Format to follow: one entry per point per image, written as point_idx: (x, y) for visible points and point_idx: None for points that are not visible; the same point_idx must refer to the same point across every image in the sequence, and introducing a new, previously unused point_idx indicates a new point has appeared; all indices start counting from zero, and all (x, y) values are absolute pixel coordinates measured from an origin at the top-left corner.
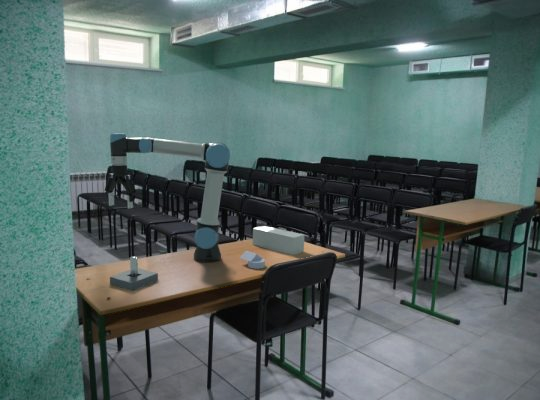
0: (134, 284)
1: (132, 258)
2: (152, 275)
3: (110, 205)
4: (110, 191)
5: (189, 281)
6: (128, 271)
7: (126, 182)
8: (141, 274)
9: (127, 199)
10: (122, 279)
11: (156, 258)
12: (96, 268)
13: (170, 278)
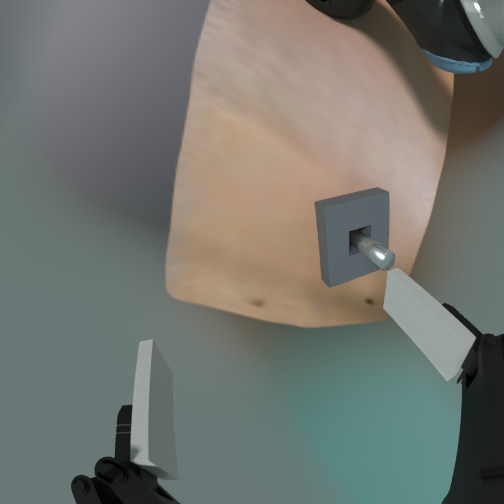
0: None
1: (390, 267)
2: (388, 209)
3: (170, 370)
4: (149, 485)
5: (419, 145)
6: (333, 239)
7: (494, 486)
8: (368, 225)
9: (426, 355)
10: (361, 273)
11: (224, 66)
12: (191, 262)
13: (387, 159)
